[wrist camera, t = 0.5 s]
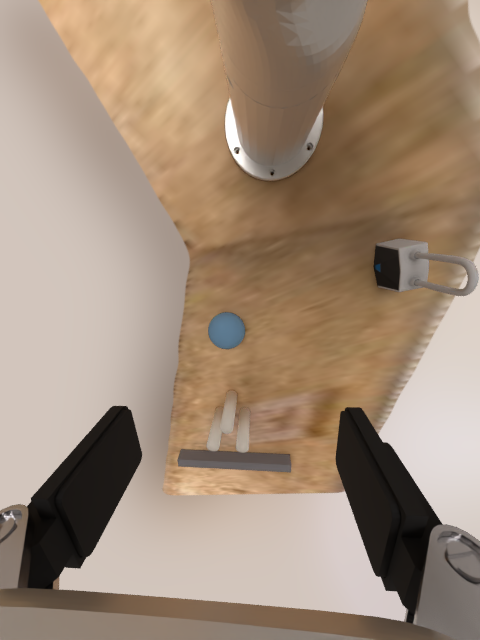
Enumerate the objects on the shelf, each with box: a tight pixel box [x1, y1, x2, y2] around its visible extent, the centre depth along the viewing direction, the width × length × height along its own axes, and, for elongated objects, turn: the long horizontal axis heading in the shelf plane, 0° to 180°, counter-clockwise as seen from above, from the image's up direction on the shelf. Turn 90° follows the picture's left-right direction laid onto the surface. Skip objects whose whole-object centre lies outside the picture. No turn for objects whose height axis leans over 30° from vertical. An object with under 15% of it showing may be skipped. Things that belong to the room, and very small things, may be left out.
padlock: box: [374, 239, 478, 296], centre depth 28 cm, size 7×4×15 cm, turn 13°
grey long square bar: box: [178, 449, 291, 472], centre depth 49 cm, size 2×24×2 cm, turn 92°
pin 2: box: [236, 407, 250, 453], centre depth 42 cm, size 2×2×8 cm
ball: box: [208, 312, 245, 349], centre depth 37 cm, size 6×6×6 cm
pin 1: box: [207, 407, 224, 451], centre depth 43 cm, size 2×2×8 cm
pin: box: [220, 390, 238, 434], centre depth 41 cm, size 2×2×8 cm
